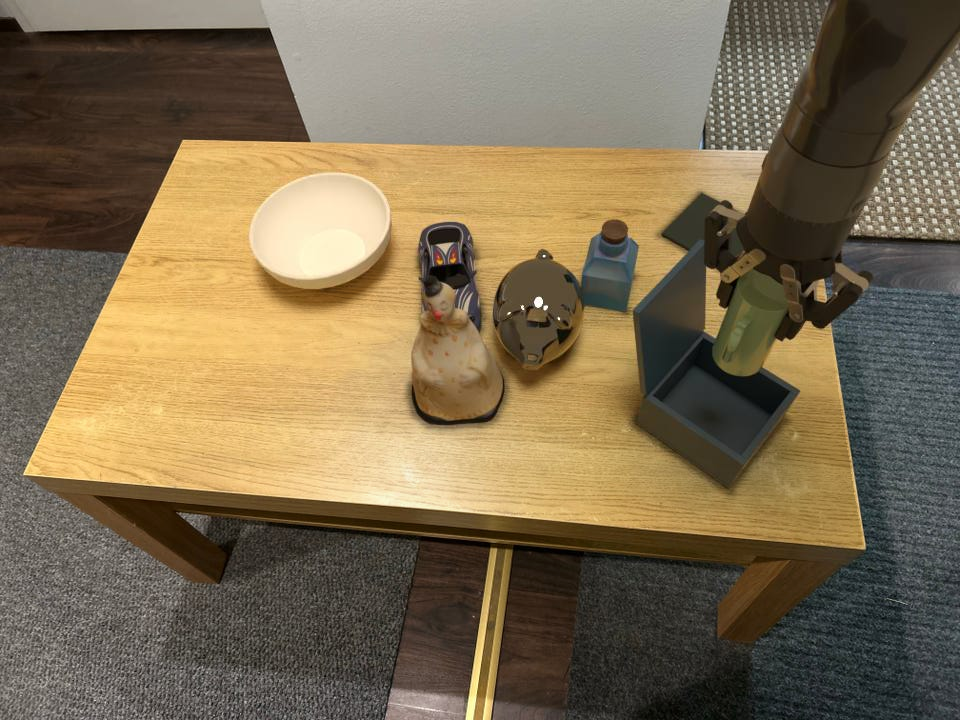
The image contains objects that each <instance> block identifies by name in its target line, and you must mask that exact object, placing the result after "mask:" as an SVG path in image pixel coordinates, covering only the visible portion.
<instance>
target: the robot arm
mask: <svg viewBox="0 0 960 720" xmlns="http://www.w3.org/2000/svg"><path fill="white" fill-rule="evenodd" d="M816 37H817V38H816V40H815V44H814V47H813V50H812V52H811V53H810V54H809V56H808V57H807V58H806V61H805V63H804V65H803V66H802V69H801V71H800V74H799V76H798V78H797V81H796V84H795V86H794V89H793V91H792V94H791V97H790V99H789V102H788V105H787V109H786V110H785V113H784V117H783V120H782V123H781V124H780V126H779V128H778V130H777V132H776V133H775V135H774V137H773V139H772V141H771V144H770V145H769V148H768V151H767V152H766V154H765V155H764V158H763V160H762V164H761V171H760V174H759V177H758V180H757V183H756V185H755V188H754V191H753V194H752V197H751V199H750V202H749V204H748V205H749V206H748V208H747V211H746V212H745V213H743V212H740V211H738V210H736V211H734V210H735V209H734V206H733V204H732V202H731V201H729V200H727V199H723V200H721V201H719V202H720V203H719V204H718V205H717V206H716V207H715V208H714V209H713V210H712V211H711V212H710V214H709V215H708V216H707V217H706V218H705V228H704V263H705V265H706V268H708V269H710V270H715V269H716V270H717V271H718V272H719V279H720V281H719V283H718V284H719V285H718V287H717V289H716V293H715V295H716V299H717V300H719V303H718V306H719V307H721V308H722V309H724V310H727V308H728V305H729V302H730V300H731V297H732V294H733V292H734V289H735V286H736V284H737V281H738V279H739V277H740V276H742V275H744V274H745V273H746V272H748V271H749V270H750V269H752V268H753V269H754V270H756V271H757V272H759V273H761V274H764V275H767V276H770V277H771V278H773V279H774V280H775V281H776V282H778V283H779V284H781V285H783V288H784V299H785V301H786V302H788V306H789V313H788V314H787V316H786V317H785V319H784V321H783V323H782V325H781V327H780V329H779V331H778V333H777V335H776V337H775V338H776V339H777V341H780V342H781V343H783V342H784V340H785V339H787V340H789V341H791V340H793V339H795V337H796V336H797V335H798V334H799V333H800V331H801V330H802V329H803V327H804V325H805V324H806V322H810V323H811V325H812V326H813V327H814V328H816V329H819V330H823V329H825V328H826V327H828V326H829V325H830V324H831V323H832V322H833V321H835V320H836V319H837V318H838V317H840V316H841V315H842V314H843V313H844V312H846V310H848V309H849V308H850V307H851V306H853V305H854V304H855V303H856V302H858V301H859V299H860V298H861V296H862V295H863V294H864V293H865V291H866V290H867V289H868V287H869V286H870V285H871V284H872V283H873V281H874V276H873V274H872V273H871V272H870V271H869V270H860V271H858V272H857V273H856V272H854V271H853V270H851V268H849V267H848V266H846V265H844V263H843V254H842V253H843V252H842V251H843V250H842V249H843V247H844V245H845V243H846V242H847V239H848V237H849V236H850V234H851V232H852V230H853V229H854V227H855V225H856V223H857V221H858V220H859V218H860V216H861V214H862V212H863V210H864V208H865V206H866V205H867V203H868V201H869V199H870V197H871V196H872V194H873V192H874V190H875V188H876V186H877V185H878V183H879V181H880V178H881V177H882V175H883V171H885V170H884V169H885V167H886V164H887V161H888V158H889V155H890V152H891V151H892V149H893V147H894V146H895V143H896V141H897V139H898V138H899V136H900V134H901V132H902V130H903V128H904V126H905V125H906V123H907V121H908V120H909V117H910V115H911V112H912V111H913V109H914V107H915V105H916V103H917V101H918V98H919V97H920V94H921V91H923V89H924V88H925V87H926V86H927V85H928V84H929V83H930V82H931V80H932V79H933V77H934V76H935V75H936V74H937V72H938V71H939V70H940V69H941V67H942V66H943V65H944V63H945V62H946V61H947V59H948V58H949V57H950V55H951V54H952V53H953V51H954V50H955V49H956V48H957V46H958V45H959V43H960V0H828V1H827V5H826V8H825V11H824V15H823V17H822V20H821V24H820V27H819V30H818V34H817V36H816ZM733 209H734V210H733ZM737 211H738V212H737ZM734 228H736V231H737V234H738V236H739V239H740V241H741V244H742V246H743V248H744V251H743V252H741V253H740V254H739V255H738V256H736V257H735V256H734V255H733V254H732V253H731V252H730V251H731V236H732V230H733V229H734ZM827 278H831V279H832V282H833V284H832V285H831V290H832V293H831V296H830V297H829V298H828V299H827V300H826V301H820V300H818V287H817V286H818V284H819V281H821V280H825V279H827Z"/></svg>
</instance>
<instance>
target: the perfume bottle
mask: <svg viewBox="0 0 960 720" xmlns="http://www.w3.org/2000/svg"><path fill="white" fill-rule="evenodd" d="M628 232H629V227H628V225H627V223H626V222H624V221H623V220H621V219H618V218H612V219H608V220H606V221H605V222H604V223H603V224H602V225H601V230H600V232H599V233H597V234H596V235H594V236H593V237H591V238H590V241H589V245H588V249H587V254H586V256H585V261H584V265H583V269H582V272H581V281H580V286H581V289H582V292H583V296H584V306H589V307H595V308H599V309H605V310H612V311H618V312H623V313H627V309H628V306H629V305H628V304H629V301H630V300H629V299H630V297H631V290H632V286H633V280H634V275H635V269H636V264H637V259H638V253H639V248H640V245H639V244H638V243H637V242H636V241H635V240H634V239H633V238H632V237H629V233H628Z"/></svg>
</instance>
